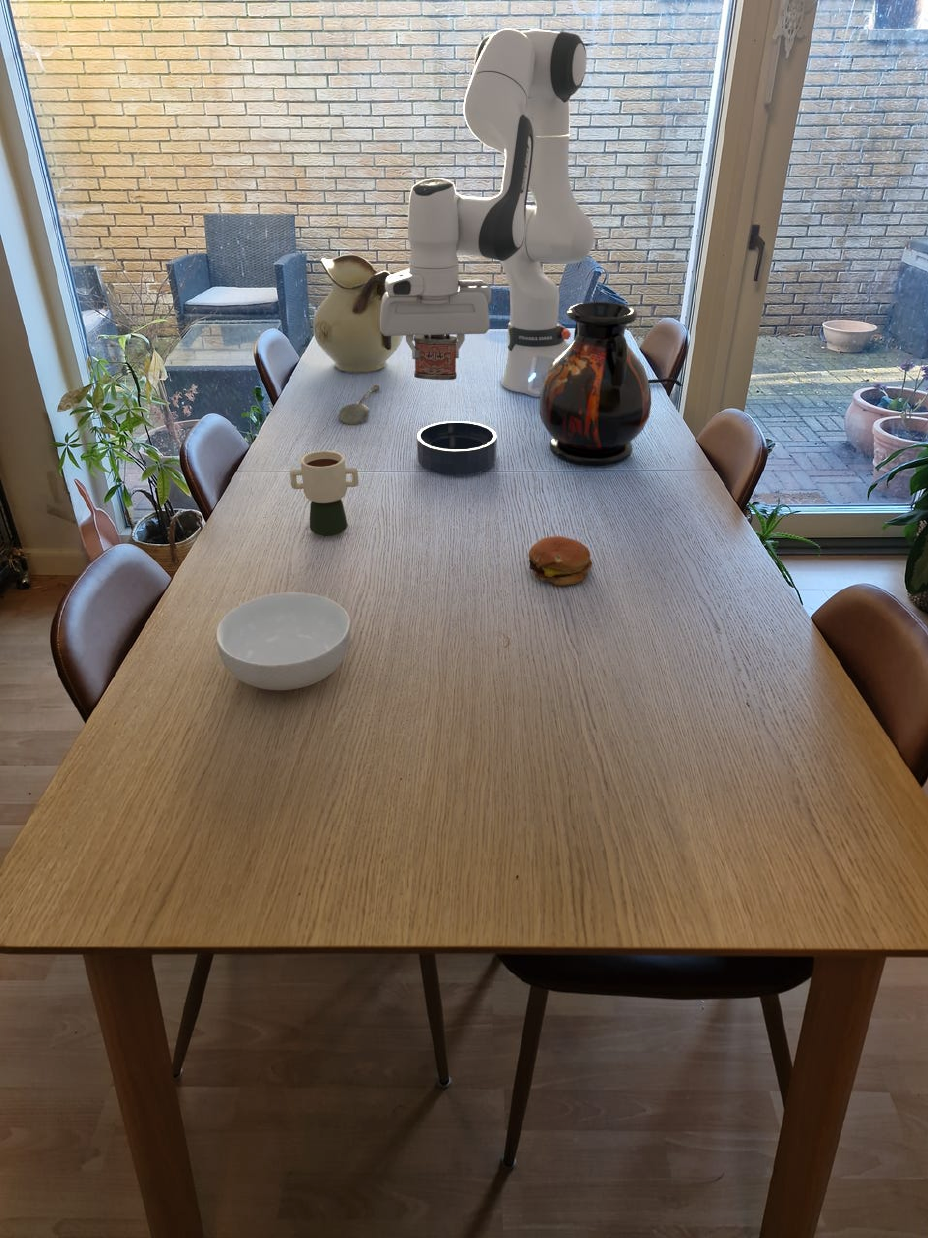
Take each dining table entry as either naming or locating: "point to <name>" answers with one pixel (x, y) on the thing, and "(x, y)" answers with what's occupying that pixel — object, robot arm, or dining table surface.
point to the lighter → (435, 357)
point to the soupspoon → (356, 410)
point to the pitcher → (354, 316)
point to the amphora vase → (596, 389)
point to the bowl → (456, 448)
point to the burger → (560, 560)
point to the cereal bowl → (284, 640)
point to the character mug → (325, 490)
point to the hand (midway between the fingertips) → (435, 357)
